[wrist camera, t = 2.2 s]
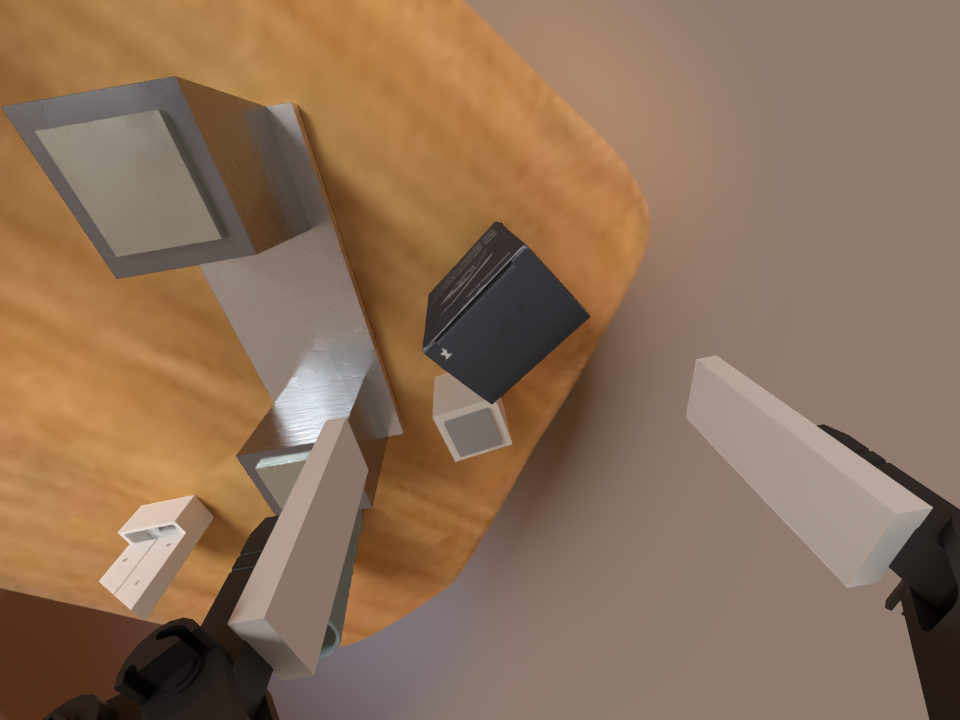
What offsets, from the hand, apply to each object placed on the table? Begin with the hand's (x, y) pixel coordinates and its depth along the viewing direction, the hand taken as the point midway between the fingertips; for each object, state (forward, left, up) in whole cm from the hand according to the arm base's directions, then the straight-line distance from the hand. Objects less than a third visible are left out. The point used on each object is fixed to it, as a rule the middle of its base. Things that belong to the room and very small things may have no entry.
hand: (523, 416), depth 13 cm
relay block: (+10, -3, -17) cm, 20 cm away
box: (0, 0, -17) cm, 17 cm away
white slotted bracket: (+19, -36, -17) cm, 44 cm away
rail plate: (0, -15, -17) cm, 22 cm away
